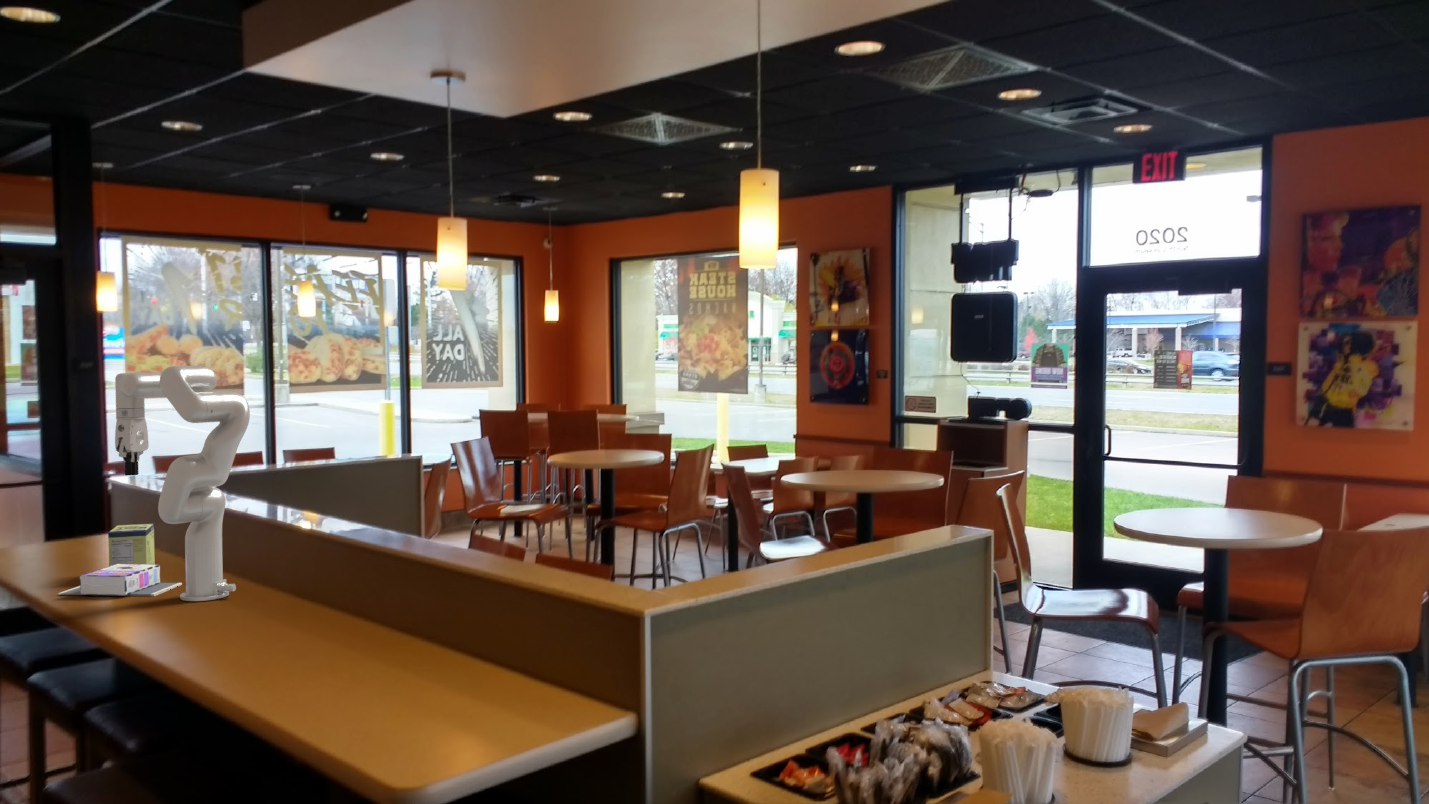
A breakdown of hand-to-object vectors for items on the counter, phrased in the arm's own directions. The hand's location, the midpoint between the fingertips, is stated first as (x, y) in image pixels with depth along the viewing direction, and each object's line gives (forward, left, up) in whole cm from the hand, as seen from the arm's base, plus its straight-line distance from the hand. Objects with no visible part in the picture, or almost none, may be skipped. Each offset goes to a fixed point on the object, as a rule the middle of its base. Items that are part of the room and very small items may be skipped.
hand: (131, 475), depth 312 cm
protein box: (+7, -11, -33) cm, 36 cm away
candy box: (-1, +18, -30) cm, 34 cm away
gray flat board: (-1, +8, -33) cm, 34 cm away
